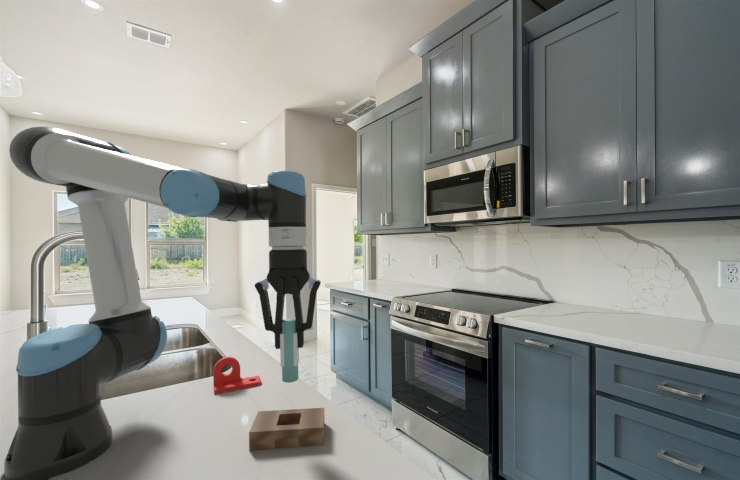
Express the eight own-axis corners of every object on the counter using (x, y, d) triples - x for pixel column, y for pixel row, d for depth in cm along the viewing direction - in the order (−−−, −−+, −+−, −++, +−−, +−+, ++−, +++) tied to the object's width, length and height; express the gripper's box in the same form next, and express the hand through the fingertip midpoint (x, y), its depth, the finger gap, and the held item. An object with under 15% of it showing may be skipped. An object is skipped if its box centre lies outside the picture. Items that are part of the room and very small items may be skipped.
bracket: (214, 394, 90) (214, 364, 90) (213, 387, 94) (213, 358, 94) (261, 385, 96) (261, 356, 96) (259, 379, 100) (258, 352, 100)
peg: (281, 382, 69) (279, 322, 69) (283, 376, 72) (282, 319, 72) (297, 382, 69) (295, 322, 69) (299, 375, 72) (298, 318, 72)
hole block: (249, 450, 66) (249, 432, 66) (258, 427, 74) (258, 411, 74) (323, 445, 67) (323, 427, 67) (324, 423, 75) (324, 407, 75)
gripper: (245, 249, 66) (247, 372, 66) (324, 248, 68) (326, 368, 68) (254, 248, 74) (256, 359, 74) (325, 247, 75) (327, 355, 75)
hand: (289, 363), depth 71 cm, fingers closed on peg, 2 cm apart
